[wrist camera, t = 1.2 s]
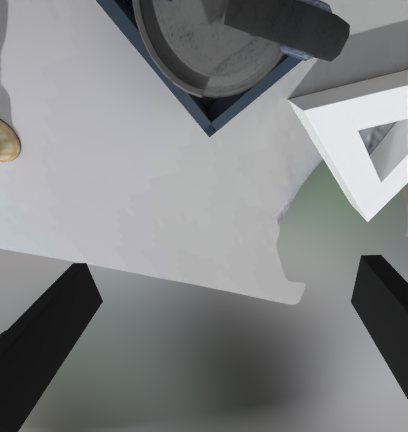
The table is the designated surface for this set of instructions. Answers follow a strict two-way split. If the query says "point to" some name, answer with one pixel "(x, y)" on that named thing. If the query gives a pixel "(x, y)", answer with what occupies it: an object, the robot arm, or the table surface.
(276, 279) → the table surface
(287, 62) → the dark blue open box
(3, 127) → the hand bell
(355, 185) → the triangle block
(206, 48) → the grey piece
